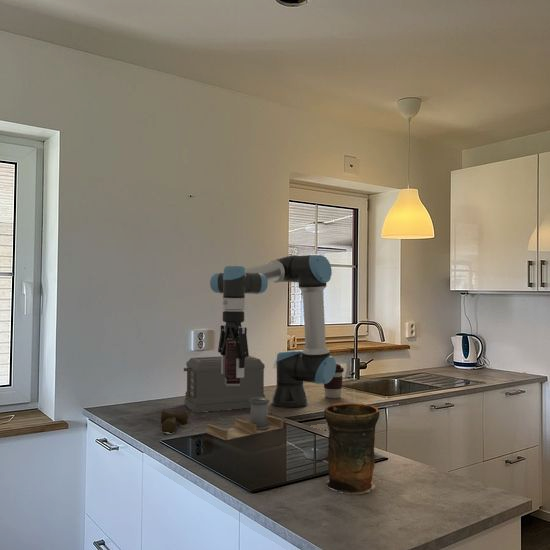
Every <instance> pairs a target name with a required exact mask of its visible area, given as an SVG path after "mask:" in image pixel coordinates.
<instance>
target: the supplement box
mask: <svg viewBox="0 0 550 550" xmlns="http://www.w3.org/2000/svg"><path fill="white" fill-rule="evenodd" d="M236 341H237V342H238V343H239V339H232V338H227V340H226V349H225V384H226V386H240V378H236V357H238V355H237V351H236ZM240 355H241V354H240Z"/></svg>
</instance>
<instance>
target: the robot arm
mask: <svg viewBox="0 0 550 550" xmlns="http://www.w3.org/2000/svg"><path fill="white" fill-rule="evenodd" d="M332 274H333V271H332V265H331V263H330V261H329V259H328V258H327V257H326V256H325V255H324V254H314V253H313V254H295V255H294V254H292V255H288V256H284V257H281V258H277V259H273V260H272V259H271V260H270V261H269V262H268V263H265V264H261V265H256V266H252V267H244V266H242V265H241V266H238V265H235V266H234V265H228V266H224V268H223V272H218V273H217V272H216V273H214V274H213V275H212V276H211V278H210V280H209V281H210V282H209V286H210V288H211V291H213V292H214V293H216V294H222V309H223V312H222V322H223V323H225V324H224V325H223V324H222V325H220V333H219V341H218V347H217V353H219V354H220V356H222V366H221V374H225V349H226V340H227V338H232V339H239V343H238V342H237V341H236V351H237V355H238V357H236V378H243V377H244V367H245V364H244V363H245V358H246V357H248V356H250V353H249V345H248V337H247V332H248V329H247V327H242V323H244V322H245V311H244V310H245V305H246V303H245V299H246V298H245V294H246V295H248V294H249V295H250V294H255V295H258V294H263V293H265V292H266V290H267V289H268V285H269V283H272V282H273V283H276V284H278V283H298V288H299V289H300V290H301V292H302V303H303V307H302V308H303V326H304V343H305V344H304V346H305V347H304V348H303V350H302V349H296V350H295V349H294V350H287V351H285V350H283V351H279V352H278V353H277V355H276V362H275V363H276V386H275V390H274V394H273V397H272V402H271V403H272V405H274V406H275V407H276V406H277V407H282V408H300V407H305V406H307V405H308V398H307V394H306V391H305V388H304V383H305V382H306V383H312V384H316V385H324V384H327V383H329V382H330V381H331V380H332V378H333V376H334V374H335V371H336V364H337V361H336V360H335V357H334V356H332V355H331V351H330V349H329V348H327V345H326V344H327V343H326V325H325V324H326V323H325V321H326V320H325V306H324V305H325V304H324V303H325V302H324V290H325V289H326V287H327V283H328V282H330V280H331V277H332ZM240 354H241V355H240Z"/></svg>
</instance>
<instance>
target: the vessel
mask: <svg viewBox="0 0 550 550" xmlns="http://www.w3.org/2000/svg"><path fill="white" fill-rule="evenodd" d="M323 412H324V413H323V417H324V419H325V422H326V424H327V427H328V431H329V432H328V436H327V437H328V438H327V439H328V441H327V442H328V443H327V444H328V445H327V446H328V447H327V458H328V480H327V481H326V483H325V486H326V485H328V487H330V488H333V489H335V490H337V491H338V492H343V493H345V494H344V495H354V496H355V495H365V494H368V493H371V491H373V490H374V489H376V488H375V487H376V486H377V485H376V484H374V482H373V474H374V470H375V466H376V465H375V443H376V426H377V423H378V422H379V419H380V410H379V408H377V407H375V406H373V405H371V404H370V405H369V404H368V405H367V404H364V403H351V402H350V403H340V402H339V403H334V404H333V403H331V404H330V405H328V406H326V407H325V409H324V410H323ZM338 492H337V493H338Z"/></svg>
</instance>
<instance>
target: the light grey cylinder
mask: <svg viewBox="0 0 550 550" xmlns="http://www.w3.org/2000/svg"><path fill="white" fill-rule="evenodd" d="M249 402H250V403H251V409H250V423H253V424H256V430H266V429H269V425H268V424H267V415H268V404H269V403H270V399H269V398H268V397H265V398H262V397H256V398H250V399H249Z"/></svg>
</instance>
